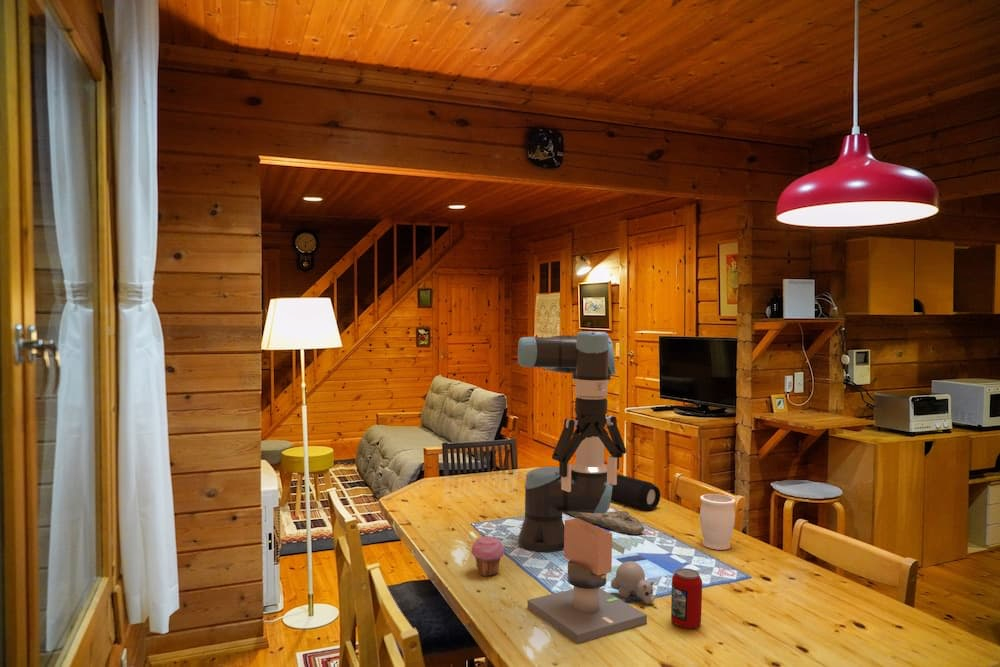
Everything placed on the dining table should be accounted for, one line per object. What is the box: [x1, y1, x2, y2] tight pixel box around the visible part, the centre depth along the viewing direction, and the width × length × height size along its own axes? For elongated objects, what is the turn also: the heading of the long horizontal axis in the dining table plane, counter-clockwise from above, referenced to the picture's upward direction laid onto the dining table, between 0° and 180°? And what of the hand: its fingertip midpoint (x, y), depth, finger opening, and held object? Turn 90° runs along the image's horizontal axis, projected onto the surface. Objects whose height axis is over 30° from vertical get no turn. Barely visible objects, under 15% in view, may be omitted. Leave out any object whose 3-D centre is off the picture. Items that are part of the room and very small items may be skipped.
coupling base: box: [527, 586, 648, 644], centre depth 160 cm, size 20×20×8 cm
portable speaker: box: [611, 473, 661, 510], centre depth 256 cm, size 26×10×10 cm, turn 39°
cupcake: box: [471, 535, 505, 577], centre depth 185 cm, size 9×9×10 cm
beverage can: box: [670, 567, 703, 629], centre depth 157 cm, size 7×7×12 cm
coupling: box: [563, 517, 613, 589], centre depth 160 cm, size 13×9×13 cm
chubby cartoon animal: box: [610, 560, 656, 605], centre depth 170 cm, size 7×12×8 cm, turn 38°
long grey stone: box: [563, 510, 645, 535], centre depth 233 cm, size 35×5×10 cm
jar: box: [699, 493, 736, 551], centre depth 210 cm, size 11×10×15 cm
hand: (589, 487), depth 159 cm, fingers open, 13 cm apart
